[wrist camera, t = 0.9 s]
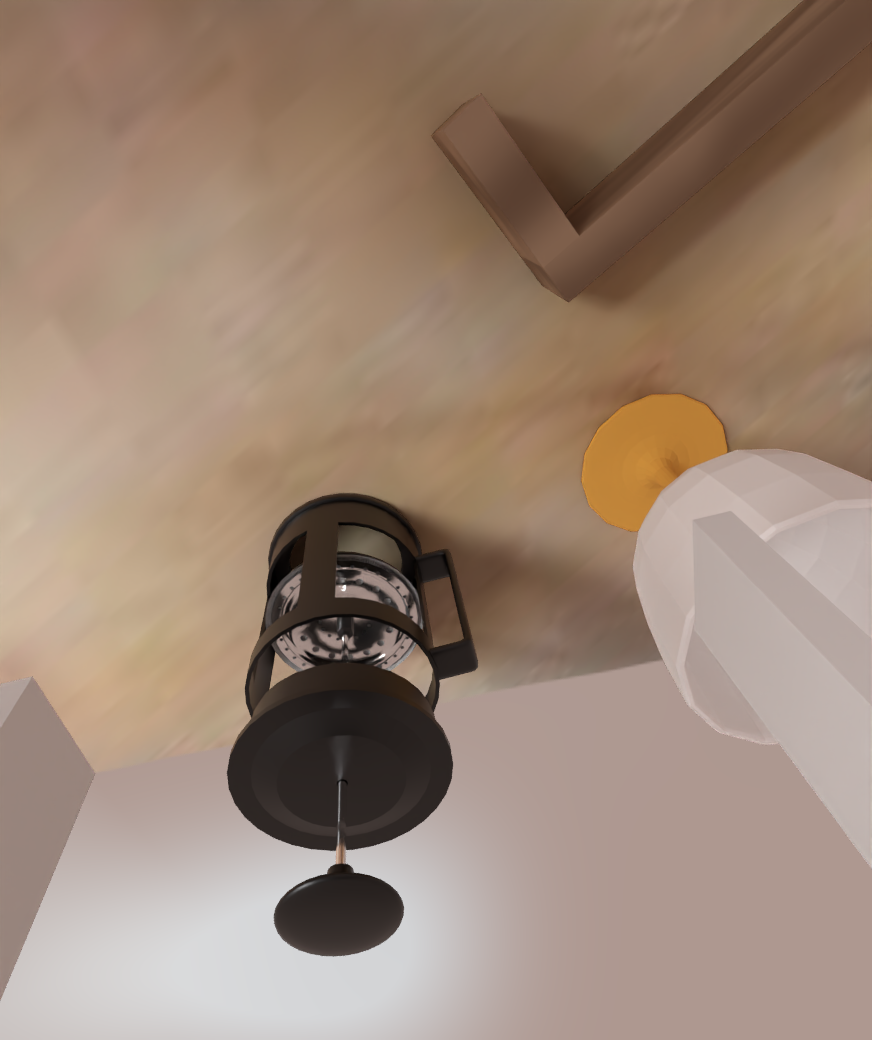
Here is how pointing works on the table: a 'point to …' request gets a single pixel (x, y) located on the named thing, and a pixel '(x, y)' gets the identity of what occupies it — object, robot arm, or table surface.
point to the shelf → (651, 149)
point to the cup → (712, 490)
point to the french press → (344, 715)
